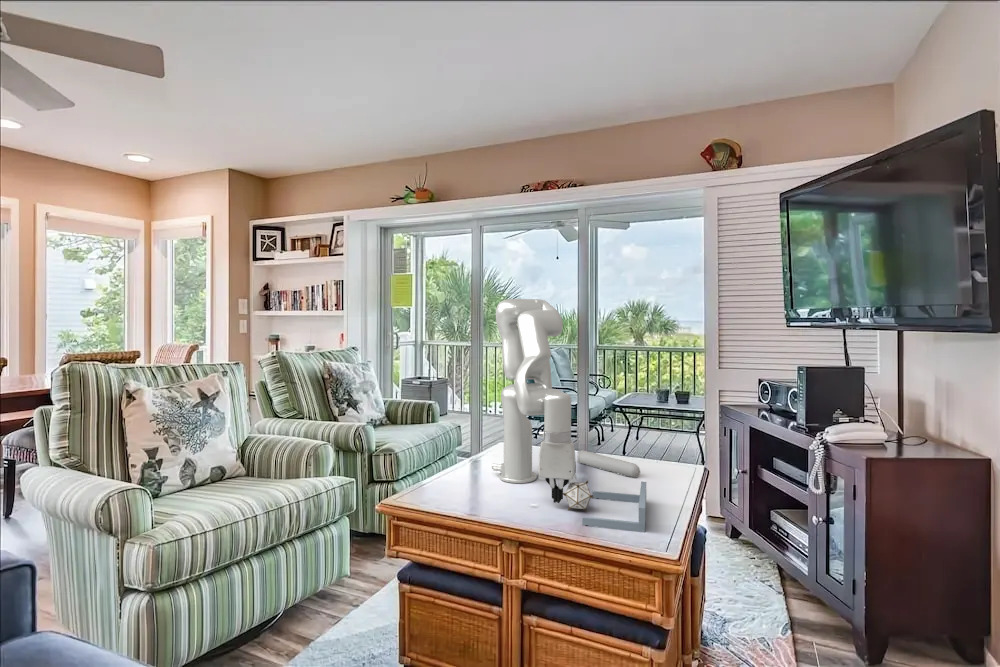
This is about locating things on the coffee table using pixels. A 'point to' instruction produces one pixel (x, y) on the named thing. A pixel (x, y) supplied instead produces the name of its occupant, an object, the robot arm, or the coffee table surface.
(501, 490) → the coffee table surface
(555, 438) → the robot arm
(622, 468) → the tube
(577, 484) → the game die
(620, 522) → the tray
